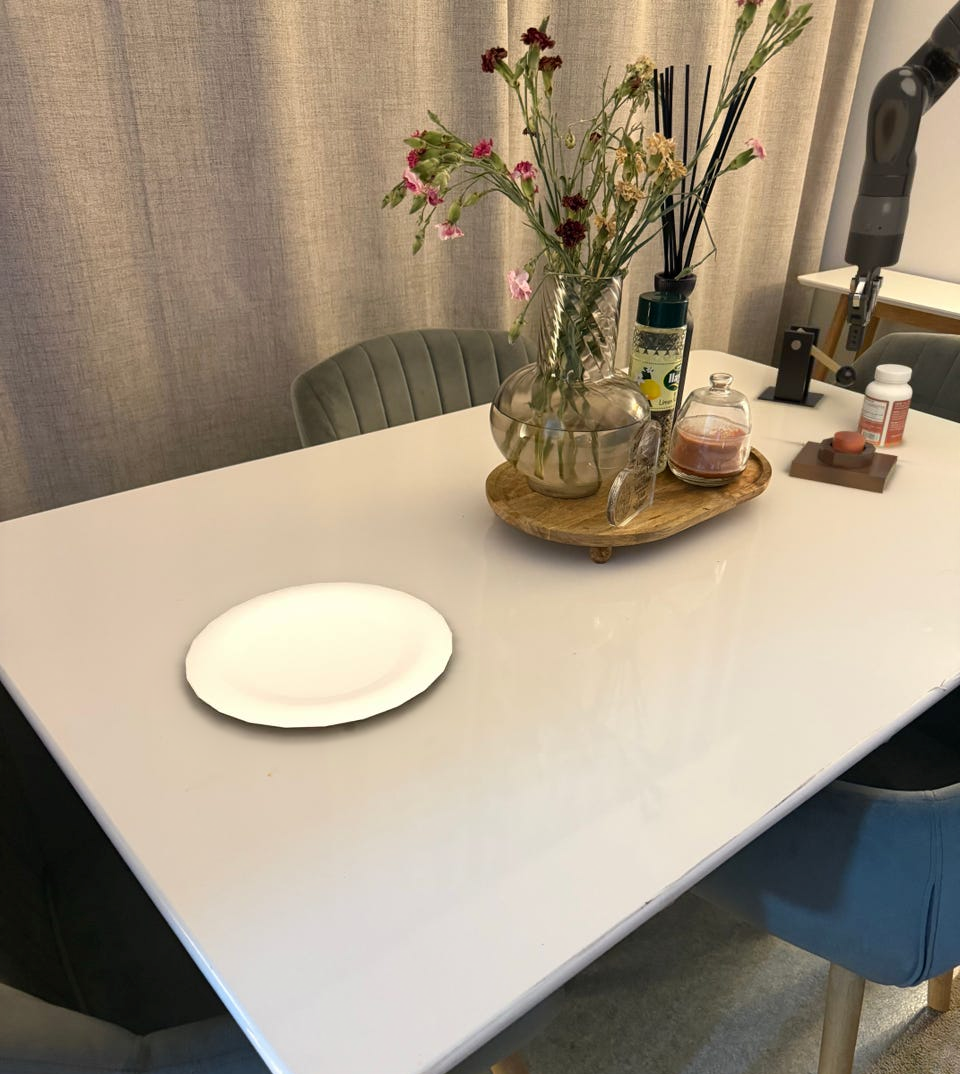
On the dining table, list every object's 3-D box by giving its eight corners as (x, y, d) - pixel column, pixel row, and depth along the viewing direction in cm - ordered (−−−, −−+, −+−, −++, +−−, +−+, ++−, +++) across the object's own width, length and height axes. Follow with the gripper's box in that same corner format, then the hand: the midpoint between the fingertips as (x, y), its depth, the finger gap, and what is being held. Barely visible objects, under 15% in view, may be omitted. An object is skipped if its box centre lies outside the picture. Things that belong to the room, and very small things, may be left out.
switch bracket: (822, 401, 151) (837, 327, 145) (812, 413, 146) (826, 337, 140) (768, 393, 155) (779, 321, 149) (756, 404, 150) (768, 330, 144)
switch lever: (849, 387, 146) (863, 371, 144) (844, 392, 144) (859, 376, 142) (789, 341, 148) (802, 324, 145) (784, 346, 145) (797, 329, 143)
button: (865, 446, 124) (868, 433, 123) (859, 456, 121) (862, 443, 120) (835, 441, 125) (837, 429, 124) (828, 450, 122) (831, 438, 121)
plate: (385, 768, 74) (384, 751, 73) (130, 706, 81) (125, 690, 80) (490, 617, 94) (489, 603, 93) (276, 578, 101) (274, 565, 100)
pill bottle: (895, 438, 136) (913, 363, 130) (903, 453, 131) (922, 375, 125) (851, 435, 137) (867, 361, 131) (858, 450, 132) (875, 373, 126)
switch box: (894, 471, 126) (901, 443, 123) (882, 494, 119) (889, 465, 117) (805, 455, 131) (810, 428, 129) (788, 476, 124) (794, 448, 122)
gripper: (896, 237, 126) (870, 363, 136) (912, 223, 136) (887, 342, 145) (840, 233, 130) (818, 357, 139) (859, 220, 139) (838, 337, 148)
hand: (853, 349), depth 142 cm, fingers closed
